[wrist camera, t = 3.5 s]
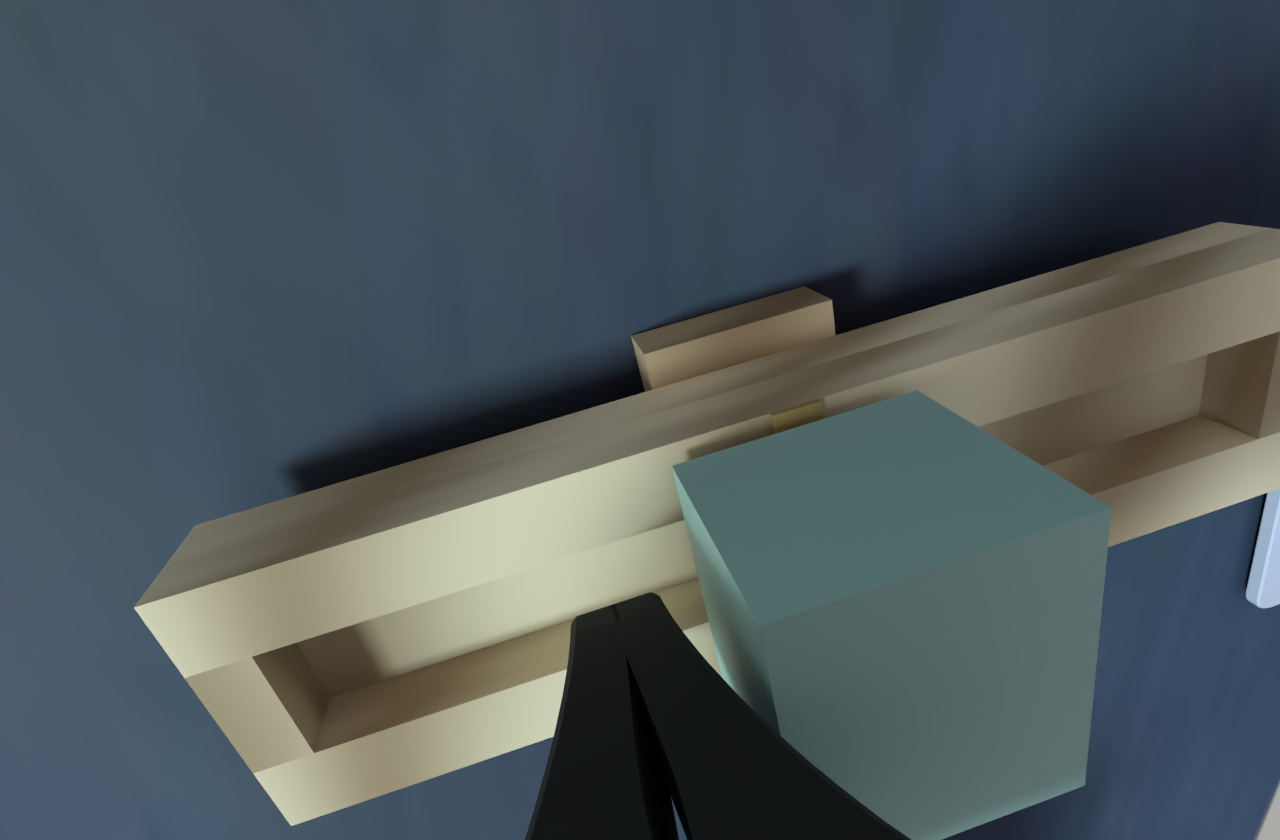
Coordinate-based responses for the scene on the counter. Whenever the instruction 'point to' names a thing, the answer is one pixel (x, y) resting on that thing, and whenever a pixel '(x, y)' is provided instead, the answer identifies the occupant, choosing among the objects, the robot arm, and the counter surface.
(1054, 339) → the beam
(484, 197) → the counter surface
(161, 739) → the counter surface
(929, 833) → the block
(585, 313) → the counter surface
